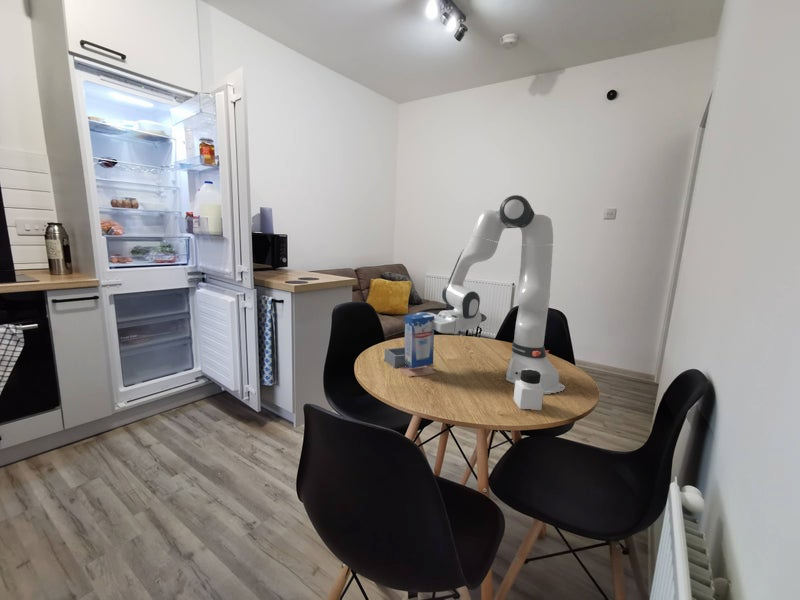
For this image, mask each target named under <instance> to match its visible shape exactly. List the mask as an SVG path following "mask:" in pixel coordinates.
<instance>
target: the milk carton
mask: <svg viewBox="0 0 800 600" xmlns="http://www.w3.org/2000/svg"><path fill="white" fill-rule="evenodd" d="M419 313H420V314H416V313H413V314H407V315H406V314H405V315H404V347H405V364H407V365H408V366H409V367H411V368H417V367H421V366H431V365H434V351H435V350H434V345H435V340H434V338H435V330H434V329H432V328H431V327H428V322H432V320H434V316H433V315H430V314H428V313H429V312H419ZM432 323H433V322H432ZM432 327H433V326H432Z"/></svg>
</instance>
